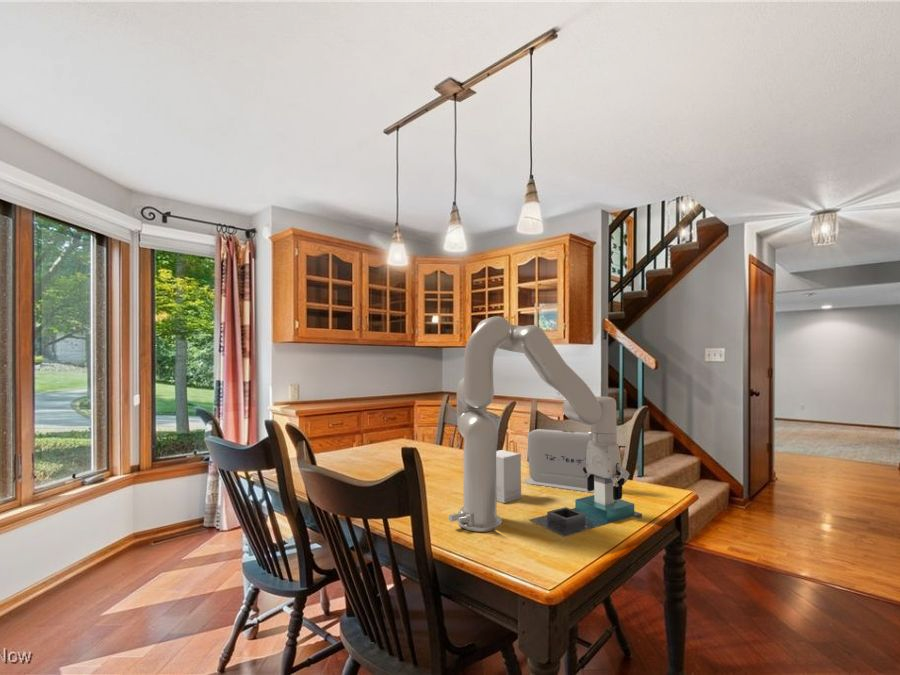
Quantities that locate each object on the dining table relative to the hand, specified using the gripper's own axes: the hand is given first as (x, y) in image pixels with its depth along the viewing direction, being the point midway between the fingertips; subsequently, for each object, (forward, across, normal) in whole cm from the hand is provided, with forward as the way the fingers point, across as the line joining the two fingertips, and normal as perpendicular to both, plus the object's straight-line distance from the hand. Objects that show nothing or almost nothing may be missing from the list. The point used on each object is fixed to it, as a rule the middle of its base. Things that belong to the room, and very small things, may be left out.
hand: (604, 494), depth 138 cm
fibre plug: (+5, 0, 0) cm, 5 cm away
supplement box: (+6, -29, -16) cm, 34 cm away
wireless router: (+6, -28, +12) cm, 31 cm away
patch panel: (+6, 0, -8) cm, 10 cm away
